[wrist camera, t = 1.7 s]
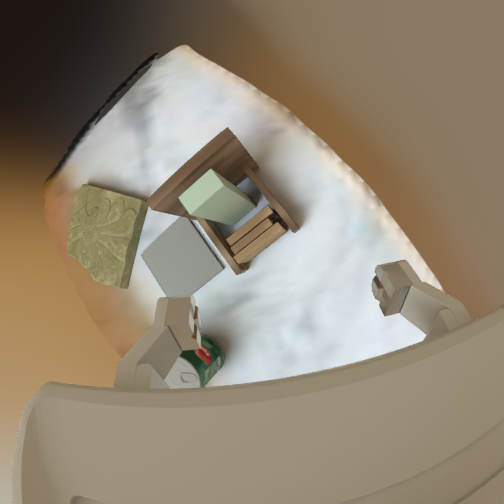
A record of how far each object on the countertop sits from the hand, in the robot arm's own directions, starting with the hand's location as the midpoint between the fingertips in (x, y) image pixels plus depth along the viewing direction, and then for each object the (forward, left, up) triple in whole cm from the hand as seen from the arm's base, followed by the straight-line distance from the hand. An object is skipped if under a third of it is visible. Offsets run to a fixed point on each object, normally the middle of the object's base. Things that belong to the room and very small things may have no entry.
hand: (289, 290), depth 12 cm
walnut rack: (+11, +4, -32) cm, 34 cm away
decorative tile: (+29, +30, -32) cm, 53 cm away
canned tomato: (-3, +25, -32) cm, 41 cm away
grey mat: (+13, +18, -32) cm, 39 cm away
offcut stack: (+8, +4, -32) cm, 33 cm away
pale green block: (+13, +4, -32) cm, 35 cm away
